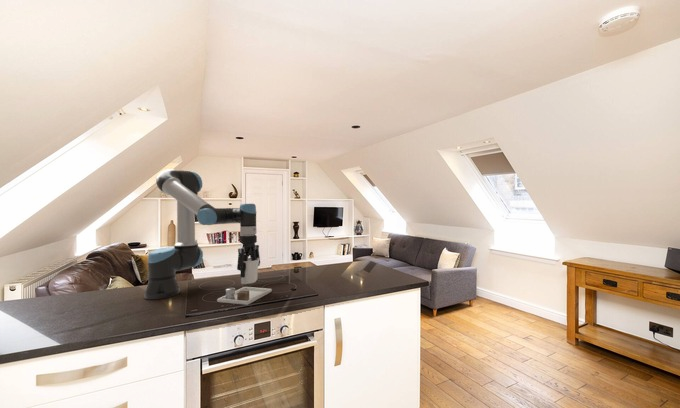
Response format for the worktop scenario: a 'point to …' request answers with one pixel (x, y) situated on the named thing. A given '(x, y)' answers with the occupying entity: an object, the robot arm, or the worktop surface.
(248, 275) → the cup
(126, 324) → the worktop surface
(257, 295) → the tray
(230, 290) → the metal spacer
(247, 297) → the walnut block
